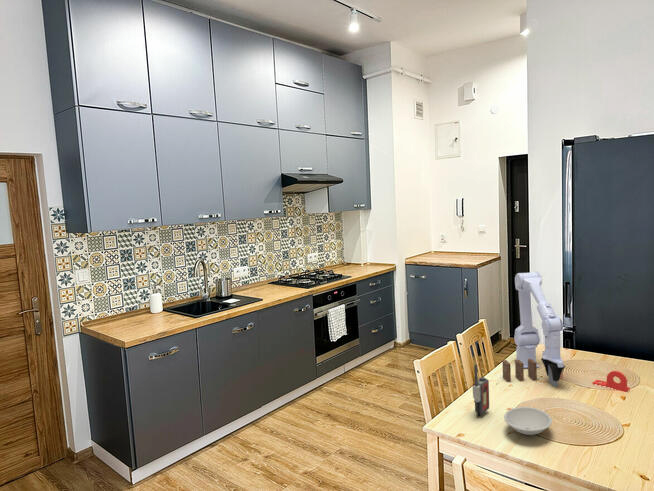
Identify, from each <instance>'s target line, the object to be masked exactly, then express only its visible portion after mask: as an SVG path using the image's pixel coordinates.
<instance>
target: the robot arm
mask: <svg viewBox="0 0 654 491" xmlns="http://www.w3.org/2000/svg"><path fill="white" fill-rule="evenodd" d="M542 284H543V278H542V275H541V274H540V271H539V272H538V271H535V272H518V273H516V274H515V277H514V285H515V290H516V291H518V302H519V320H520V325H519V326H517V327H516V328H515V329H514V337H513V340H514V343H515V345H516V349H515V350H516V351H515V352H516V360H520V361H521V362H522V363H523V364H524V369H526V368H527V369H528V359H532V360H533V361H535V362H536V363H537V359H536V358H537V349H536V348H538V346H539V345H540V343H541V337H540V334H539V329H538V328H536V327H535V326H534V325H533V314H532V298H531V296H533V298H534V300H535V302H536V303H537V305H536V311H537V312H538V315H539V317H540V319H541V329H542V333H543V336H544V350H542V356H541V361H542V364H543V366H544V368H545V373H546V376H547V377H548V364H549V366H550V368H551V371H552V378H553V381H558V382H559V381H560V380H561V379H560V375H561V373H562V371H563V372H564V369H565V368H566V365H565V364H564V361H563V359H562V357H561V332H562V331H563V330H564V324H563V323H564V322H563V320H562V318H561V317H559V315H557V314H556V312H555V311H554V308H553V306H552V304H551V303H550V302H549V301H547V300H546V297H545V294H544V292H543V288H542ZM531 294H532V295H531ZM537 368H540V365H539V364H538V363H537Z"/></svg>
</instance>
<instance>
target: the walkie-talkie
mask: <svg viewBox="0 0 654 491" xmlns="http://www.w3.org/2000/svg"><path fill="white" fill-rule="evenodd" d="M473 372H474V382H473V383H472V398H473V399H474V400H473V402H474V413H477V414H476V415H477V417H479V418H481V415H483V414H485V413H486V412H487V411H488V410H489V409H490V386H489V385H490V381H489V379H488V378H486V377H484V376H481V377H479V376H478V365H477V364H474V365H473ZM478 377H479V378H478Z"/></svg>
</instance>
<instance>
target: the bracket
mask: <svg viewBox="0 0 654 491" xmlns="http://www.w3.org/2000/svg"><path fill="white" fill-rule="evenodd" d="M615 377H616V378H618V379H619V380H620V381H619V382H616V381H615V380H614V378H615ZM598 382H602V383H598ZM595 384H597V385H596V386H599V385H601V386H600V387H603V386H606V387H605V388H607V387H610V388H609V389H611V388H613V389H612V390H615V389H616V391H619V392H623V393H627V392H628V391H629V390H630V389H631V387H629V386H628V380H627V377H626V375H625V374H624V373H623V372H621V371H618V370H612V371H609V373H608V374H607V376H606V380H605V381H604V380H600V379H596V380H594V381H592V385H595Z"/></svg>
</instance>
